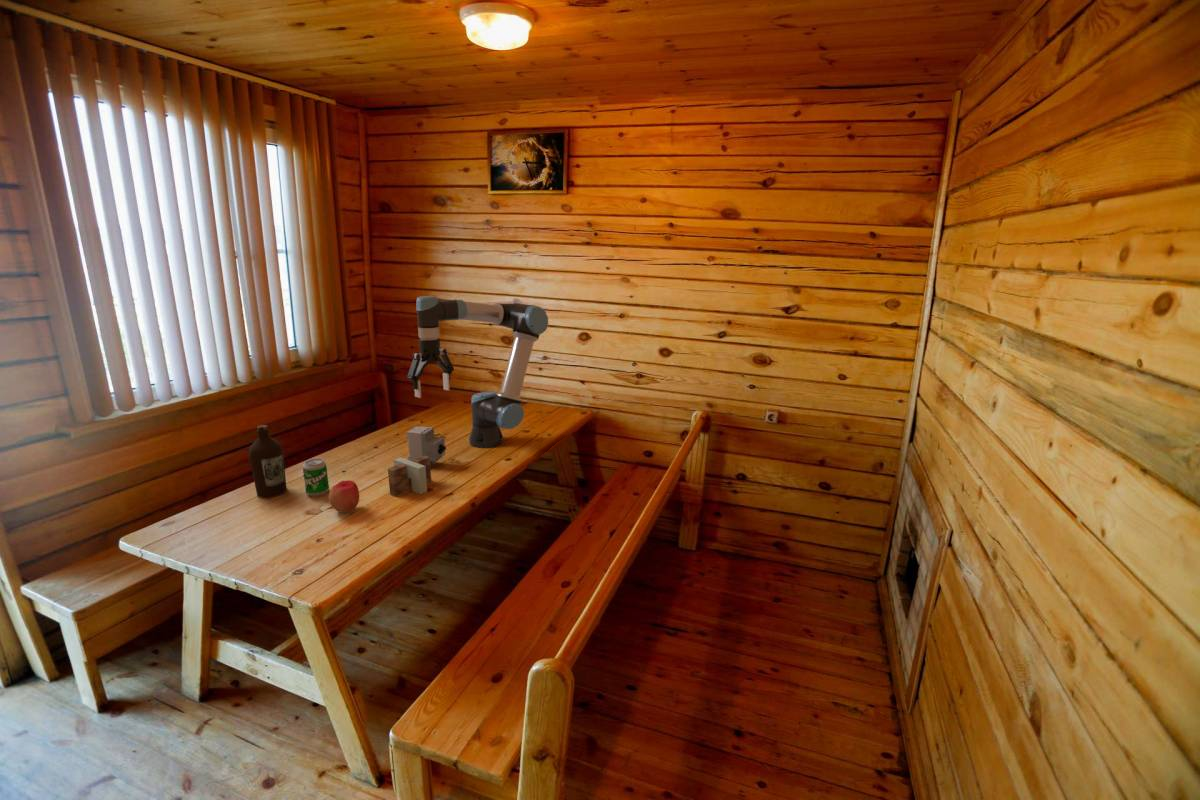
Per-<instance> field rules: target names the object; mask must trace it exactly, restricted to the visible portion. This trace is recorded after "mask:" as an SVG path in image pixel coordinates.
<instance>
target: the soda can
mask: <svg viewBox="0 0 1200 800" xmlns="http://www.w3.org/2000/svg"><path fill="white" fill-rule="evenodd" d="M302 471H303V481H304V487H305V494H306V495H309V497H320V496H321V497H322V496H324V495H326V494H327V493H328V491H329V490H330V485H329V477H328V468H327V463H326V462H325V460H323V459H322V458H321V459H320V458H313V459H308V460H307V461H305V462H304V464H303V465H302Z"/></svg>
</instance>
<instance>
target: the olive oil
mask: <svg viewBox="0 0 1200 800" xmlns="http://www.w3.org/2000/svg"><path fill="white" fill-rule="evenodd" d="M256 429H257V430H256V431H257V438H256V439H255V441H253V443H252V444H251V445H250V446H249V450H248V459H249V462H250V463H249V464H250V468H251V473H252V476H253V482H254V487H255V492H256V496H257V497H260V498H262V499H263V498H265V499H267V498H274V497H278V496H281V495H283V494H285V493H286V491H287V489H288V488H287V480H286V468H285V456H284V455H285V453H284V448H283V446H282V444H281V443H280V442H279V441H277V439H275V438H273V437H272V436H270V431H269V429H268V425H266V424H262V425H258V426H257V427H256Z"/></svg>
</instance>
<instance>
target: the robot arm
mask: <svg viewBox="0 0 1200 800" xmlns="http://www.w3.org/2000/svg"><path fill="white" fill-rule="evenodd" d="M415 308H416V309H415V310H416V317H417V331H418V338H419V339H418V347H419V350H420V352H419V353H415V352H413V354H412V361H411V365H410V368H409V371H408V373H407V377H406V379H407V380H409V381H412V389H413V390H414V397H415V398H419V399H421V398H422V389H421V388H422V387H421V380H419V379H420V377H421V375H422V373H423V372H424V370H425V369H426V366H428V365H430V364H435V363H436V364H437V365H438V367H439V368H440V369H441V370H442V371H443V373H442V385H443V388H442V389H443V390H444V391H450V381H451V374H453V372H454V371H455V368H454V366H453V364H452V361H451V360H450V358H449V355H448V352H447V348H441V340H440V336H441V335H440V334H441V333H440V325H439V324H440V322H445V321H455V320H456V321H459V320H463V321H464V320H465V321H475V322H483V323H484V322H485V323H491V324H492V325H494V326H499V327H500V326H501V327H505V328H508V329H511V330H512V331H511V333H512V335H513V337H514V338H513V341H512V344H511V345H512V346H511V349H510V353H509V356H508V360H507V364H506V367H505V371H504V376H503V378H502V379H503V380H502V383H501V386H500V389H499V391H498V392H496V391H483V392H482V391H481V392H478V393H475V394H473V395H472V396H471V402H470V404H471V419H472V420H471V422H472V423H471V424H472V427H471V430H470V435H469V437H468V438H469V439H468V441H469V445H470V446H472V447H476V448H485V449H487V448H493V447H497V446H500V445H502V444H503V443H504V435H503V432H502V431H501V429H505V430H513V429H515V428H516V427H518V426H519V425H520V424H521V423H522V422H523V418H524V416H525V411H524V408H523V406H522V401H523V399H522V398H521V391H522V388H523V385H524V380H525V378H526V373H527V369H528V367H529V366H528V365H529V363H530V359H531V355H532V350H533V346H534V343H535V342H537V341H538V340H539V338H540V335H541V334H544V332H546V331H547V329H548V326H549V317H548V315H547V312H546V310H544V308H542V307H541V306H538V305H535V304H525V303H517V302H516V303H513V302H512V303H511V302H510V303H501V302H495V303H493V304H490V303H482V302H472V301H465V300H463V299H447V298H440V297H437V296H436V295H421V296H418V297H417V298H416V307H415Z"/></svg>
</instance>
